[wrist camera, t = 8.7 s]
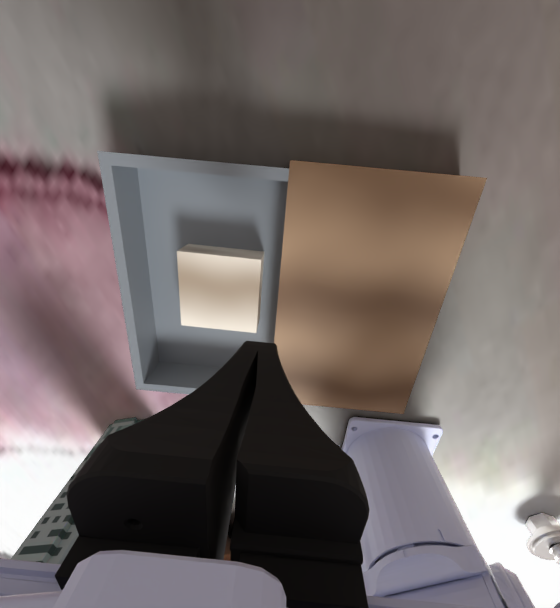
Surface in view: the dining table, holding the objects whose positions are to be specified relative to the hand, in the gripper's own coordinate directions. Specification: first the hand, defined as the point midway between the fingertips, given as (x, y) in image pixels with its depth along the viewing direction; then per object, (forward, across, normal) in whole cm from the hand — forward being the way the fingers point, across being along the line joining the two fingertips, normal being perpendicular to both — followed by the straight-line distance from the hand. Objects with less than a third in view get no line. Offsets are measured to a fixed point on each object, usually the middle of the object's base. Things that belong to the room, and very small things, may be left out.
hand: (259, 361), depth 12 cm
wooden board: (+9, -5, 0) cm, 10 cm away
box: (+9, +4, 0) cm, 10 cm away
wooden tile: (+8, +3, 0) cm, 9 cm away
